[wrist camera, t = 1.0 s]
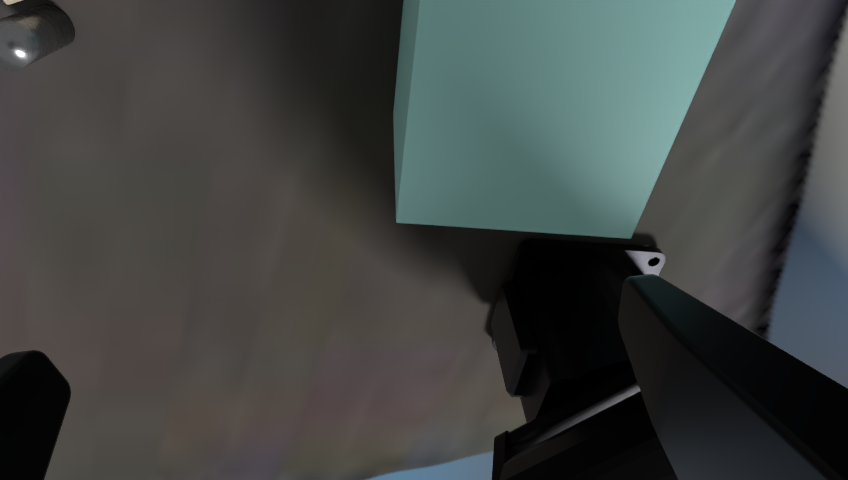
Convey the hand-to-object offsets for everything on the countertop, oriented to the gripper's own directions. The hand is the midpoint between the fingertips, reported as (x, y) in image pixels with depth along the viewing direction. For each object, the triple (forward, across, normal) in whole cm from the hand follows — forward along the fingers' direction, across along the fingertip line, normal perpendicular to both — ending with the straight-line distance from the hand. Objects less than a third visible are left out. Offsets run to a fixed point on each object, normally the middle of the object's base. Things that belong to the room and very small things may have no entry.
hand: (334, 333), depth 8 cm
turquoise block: (+12, -4, -1) cm, 12 cm away
